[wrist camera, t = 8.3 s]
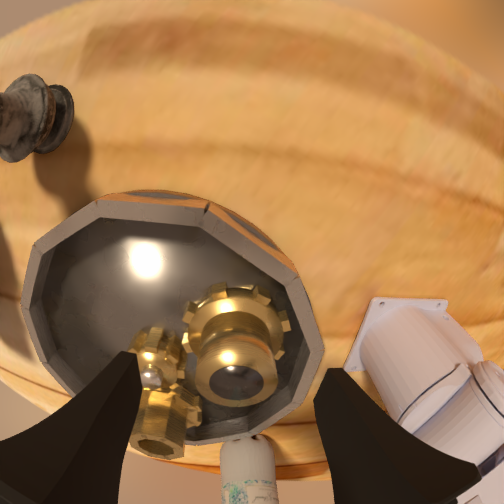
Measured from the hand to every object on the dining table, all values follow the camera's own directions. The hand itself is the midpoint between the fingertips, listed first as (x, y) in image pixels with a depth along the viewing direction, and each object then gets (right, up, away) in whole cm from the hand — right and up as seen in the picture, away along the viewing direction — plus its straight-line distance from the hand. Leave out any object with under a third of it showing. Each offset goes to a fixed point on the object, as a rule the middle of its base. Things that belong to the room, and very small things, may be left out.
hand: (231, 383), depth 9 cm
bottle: (0, -18, +18) cm, 25 cm away
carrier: (-7, -2, +11) cm, 13 cm away
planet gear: (-7, -9, +12) cm, 17 cm away
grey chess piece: (-14, +15, +4) cm, 21 cm away
